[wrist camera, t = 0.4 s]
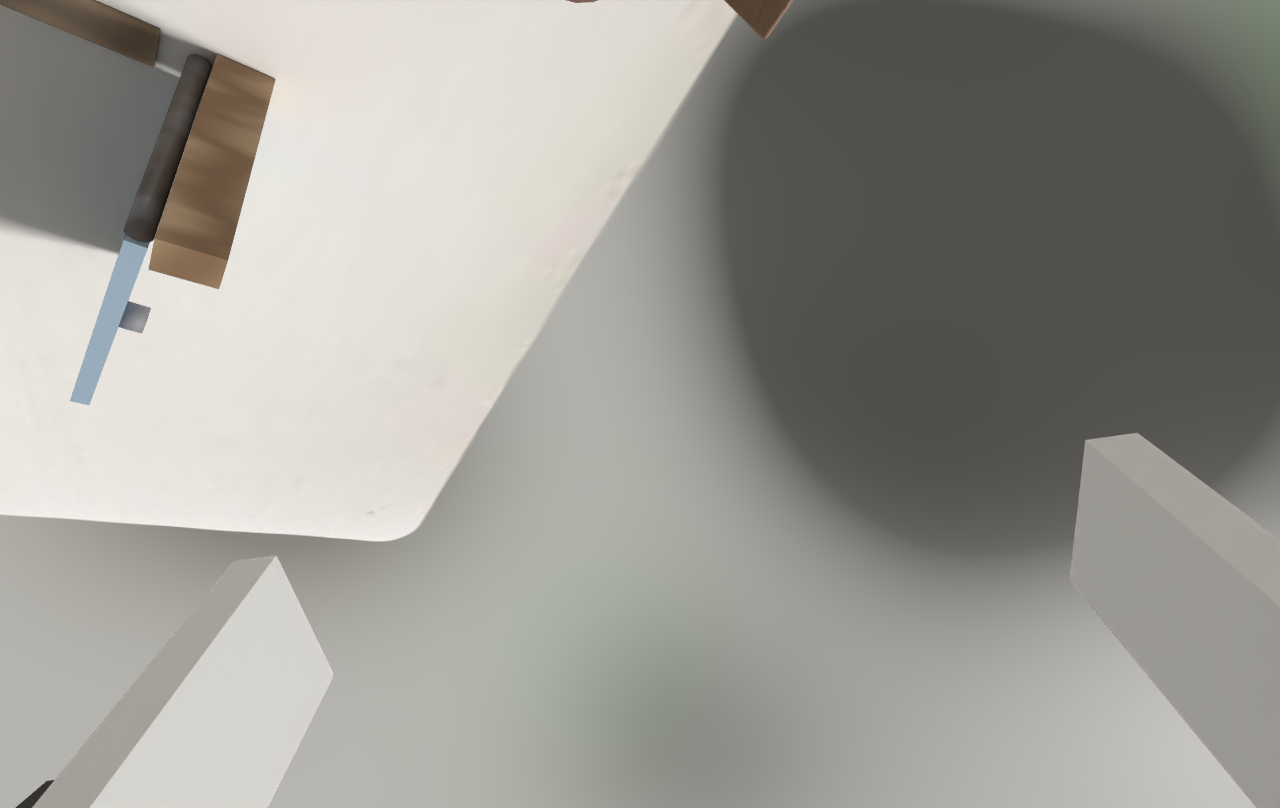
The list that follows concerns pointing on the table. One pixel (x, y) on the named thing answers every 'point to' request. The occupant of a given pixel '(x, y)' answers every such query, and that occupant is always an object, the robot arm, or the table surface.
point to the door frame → (181, 142)
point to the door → (113, 317)
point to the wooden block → (753, 13)
